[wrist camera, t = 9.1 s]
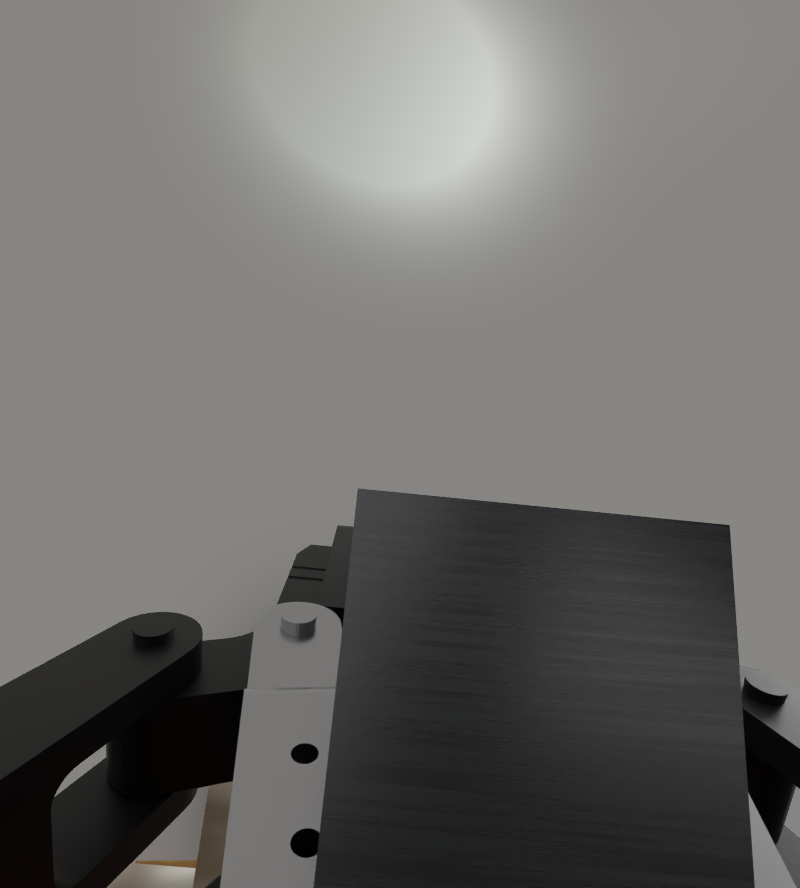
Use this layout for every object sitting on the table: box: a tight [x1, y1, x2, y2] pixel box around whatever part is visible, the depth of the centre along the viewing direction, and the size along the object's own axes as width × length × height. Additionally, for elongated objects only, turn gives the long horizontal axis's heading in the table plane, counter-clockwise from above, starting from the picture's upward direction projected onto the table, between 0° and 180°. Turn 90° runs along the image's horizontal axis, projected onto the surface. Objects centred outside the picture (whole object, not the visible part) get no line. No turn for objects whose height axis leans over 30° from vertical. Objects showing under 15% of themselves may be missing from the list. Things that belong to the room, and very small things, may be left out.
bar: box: [314, 489, 755, 888], centre depth 19 cm, size 3×30×3 cm, turn 3°
